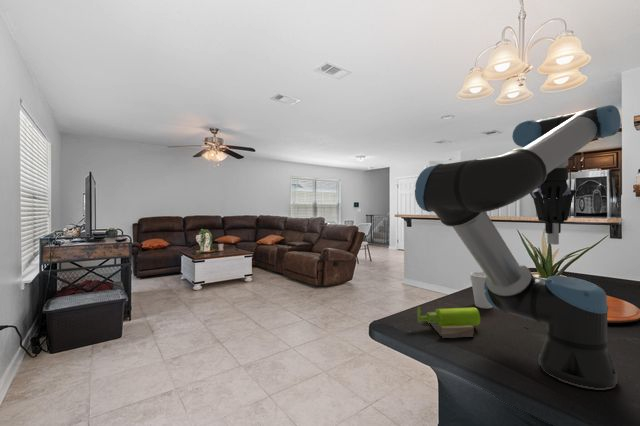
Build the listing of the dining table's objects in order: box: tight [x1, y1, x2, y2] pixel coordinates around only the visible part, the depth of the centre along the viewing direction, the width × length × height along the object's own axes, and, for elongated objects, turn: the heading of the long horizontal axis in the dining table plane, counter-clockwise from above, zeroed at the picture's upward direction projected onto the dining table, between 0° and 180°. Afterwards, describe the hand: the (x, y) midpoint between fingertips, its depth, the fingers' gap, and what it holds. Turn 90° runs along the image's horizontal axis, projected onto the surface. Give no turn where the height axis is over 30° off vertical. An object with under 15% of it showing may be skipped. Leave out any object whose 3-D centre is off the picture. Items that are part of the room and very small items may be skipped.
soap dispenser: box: [416, 305, 481, 327], centre depth 105 cm, size 6×7×20 cm
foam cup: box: [470, 271, 494, 309], centre depth 125 cm, size 10×9×13 cm
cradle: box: [426, 311, 475, 335], centre depth 105 cm, size 14×10×4 cm
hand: (553, 243), depth 96 cm, fingers closed
